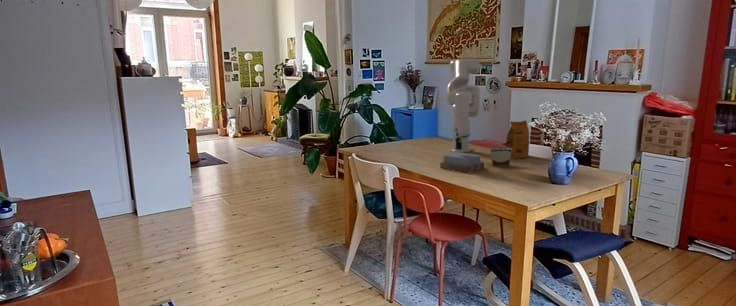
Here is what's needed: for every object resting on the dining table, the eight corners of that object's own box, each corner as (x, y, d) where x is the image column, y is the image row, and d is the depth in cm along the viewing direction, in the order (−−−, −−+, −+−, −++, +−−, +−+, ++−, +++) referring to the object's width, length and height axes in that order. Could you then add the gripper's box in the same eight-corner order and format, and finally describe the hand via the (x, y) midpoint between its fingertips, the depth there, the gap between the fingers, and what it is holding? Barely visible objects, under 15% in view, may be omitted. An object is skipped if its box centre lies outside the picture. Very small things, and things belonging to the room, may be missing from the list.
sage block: (460, 148, 266) (460, 136, 264) (468, 149, 262) (468, 137, 261) (455, 150, 262) (455, 137, 261) (462, 151, 259) (462, 138, 257)
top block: (456, 158, 273) (456, 151, 273) (480, 162, 262) (480, 155, 261) (443, 162, 265) (443, 155, 264) (467, 166, 254) (468, 159, 253)
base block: (457, 164, 276) (457, 157, 276) (483, 169, 264) (484, 162, 263) (440, 169, 266) (440, 162, 265) (467, 174, 253) (467, 167, 252)
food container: (510, 163, 272) (510, 146, 270) (512, 165, 266) (512, 148, 264) (488, 163, 273) (488, 146, 271) (489, 166, 267) (490, 148, 265)
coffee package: (503, 156, 291) (504, 120, 286) (521, 154, 294) (522, 119, 289) (512, 159, 281) (513, 122, 277) (530, 157, 284) (532, 121, 280)
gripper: (465, 113, 267) (465, 145, 270) (446, 116, 255) (446, 150, 259) (476, 114, 261) (476, 146, 265) (458, 117, 250) (458, 151, 254)
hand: (461, 148), depth 262 cm, fingers closed on sage block, 5 cm apart
